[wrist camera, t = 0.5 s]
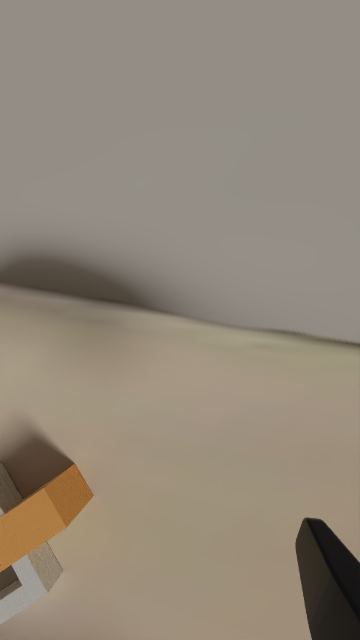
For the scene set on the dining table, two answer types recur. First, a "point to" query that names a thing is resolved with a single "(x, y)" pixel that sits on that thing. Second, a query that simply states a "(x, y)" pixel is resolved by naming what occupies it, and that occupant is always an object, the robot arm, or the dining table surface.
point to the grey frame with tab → (35, 534)
